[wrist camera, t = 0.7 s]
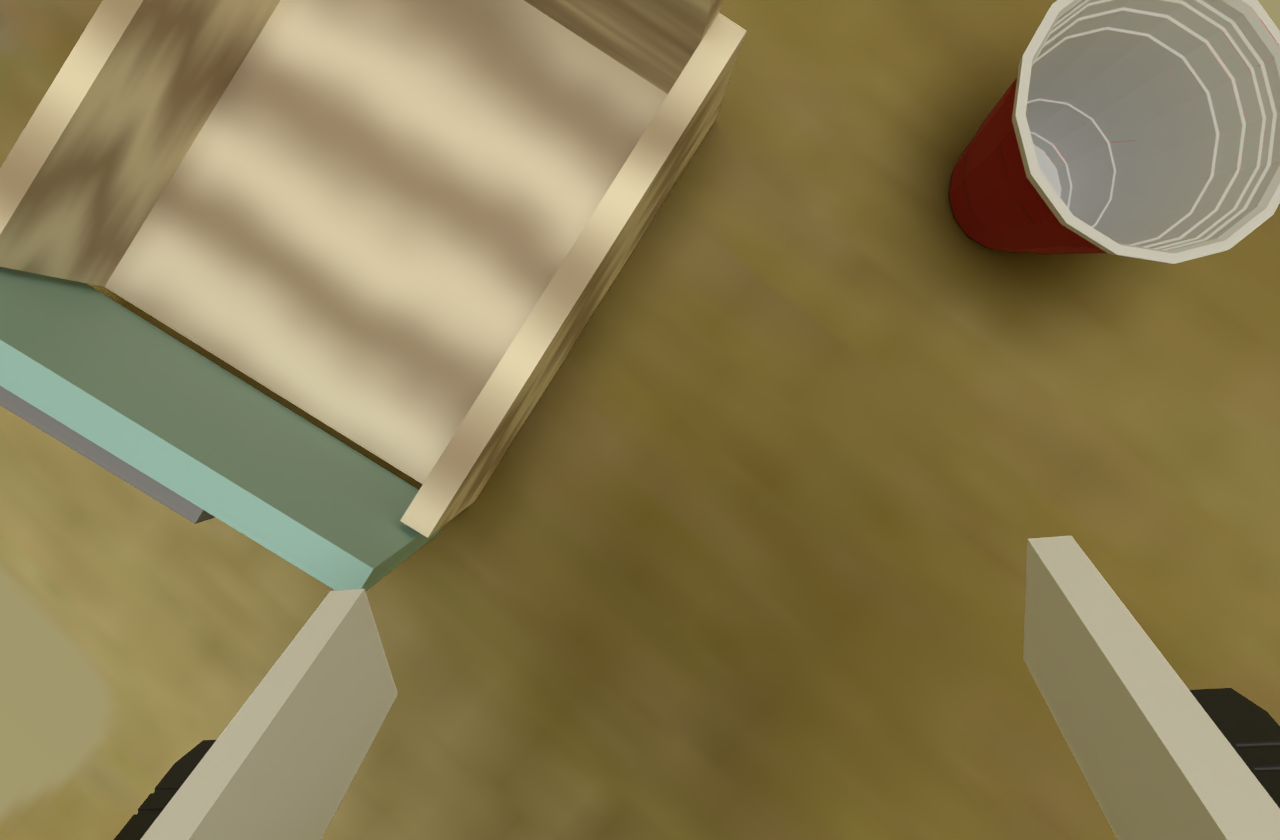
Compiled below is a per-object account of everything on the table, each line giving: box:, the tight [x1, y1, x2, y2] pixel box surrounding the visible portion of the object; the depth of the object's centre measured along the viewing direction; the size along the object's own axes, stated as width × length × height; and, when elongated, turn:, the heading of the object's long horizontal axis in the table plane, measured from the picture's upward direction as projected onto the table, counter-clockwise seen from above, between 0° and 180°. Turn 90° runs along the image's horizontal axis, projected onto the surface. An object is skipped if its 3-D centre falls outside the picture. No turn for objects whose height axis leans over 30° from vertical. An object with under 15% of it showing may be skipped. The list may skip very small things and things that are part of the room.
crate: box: [0, 0, 747, 538], centre depth 31 cm, size 22×20×17 cm
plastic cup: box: [949, 0, 1280, 264], centre depth 34 cm, size 11×11×12 cm
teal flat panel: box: [0, 267, 443, 592], centre depth 31 cm, size 2×19×12 cm, turn 58°
